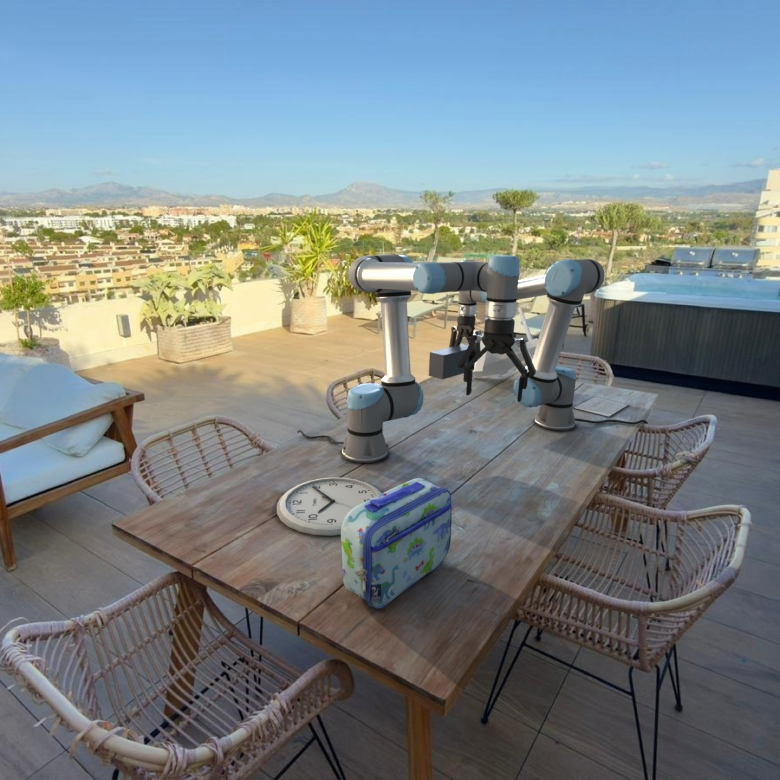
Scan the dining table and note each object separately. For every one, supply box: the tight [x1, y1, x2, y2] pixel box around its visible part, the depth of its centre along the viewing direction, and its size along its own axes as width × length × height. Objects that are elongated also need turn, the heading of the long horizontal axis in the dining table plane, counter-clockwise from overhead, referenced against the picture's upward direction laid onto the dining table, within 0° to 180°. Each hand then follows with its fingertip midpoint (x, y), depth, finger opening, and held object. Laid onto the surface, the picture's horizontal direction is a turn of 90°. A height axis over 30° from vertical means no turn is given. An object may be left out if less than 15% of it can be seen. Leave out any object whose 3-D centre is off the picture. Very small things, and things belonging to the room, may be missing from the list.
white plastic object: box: [472, 306, 539, 378], centre depth 258 cm, size 37×45×31 cm
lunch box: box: [340, 477, 452, 610], centre depth 110 cm, size 26×11×21 cm, turn 134°
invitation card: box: [573, 396, 629, 418], centre depth 226 cm, size 21×1×15 cm
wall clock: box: [276, 476, 383, 537], centre depth 142 cm, size 30×2×30 cm
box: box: [428, 344, 475, 380], centre depth 216 cm, size 22×7×10 cm, turn 136°
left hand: (493, 397), depth 140 cm, fingers open, 13 cm apart
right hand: (463, 368), depth 223 cm, fingers closed on box, 7 cm apart
